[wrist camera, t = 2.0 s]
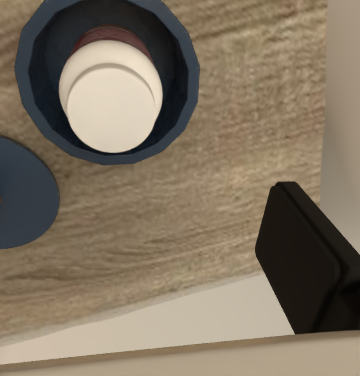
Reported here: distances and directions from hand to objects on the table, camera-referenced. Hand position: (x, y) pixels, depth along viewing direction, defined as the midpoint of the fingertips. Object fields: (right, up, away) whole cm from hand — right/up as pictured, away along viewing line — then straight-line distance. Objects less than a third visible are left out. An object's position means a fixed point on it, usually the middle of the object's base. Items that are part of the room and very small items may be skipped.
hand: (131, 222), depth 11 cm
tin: (-4, +11, +16) cm, 20 cm away
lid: (-16, 0, +20) cm, 25 cm away
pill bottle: (-4, +11, +16) cm, 20 cm away
